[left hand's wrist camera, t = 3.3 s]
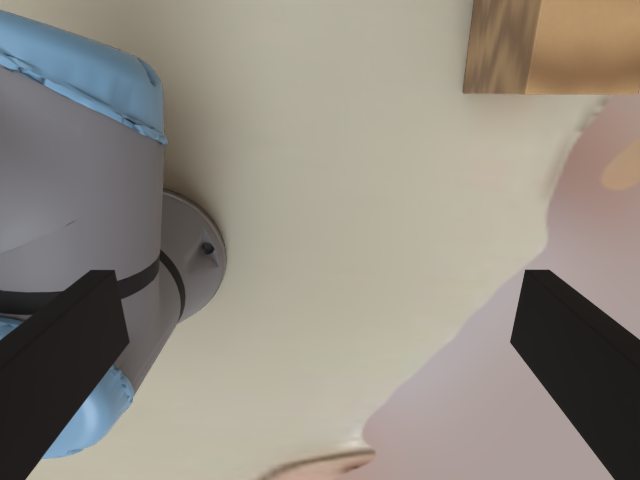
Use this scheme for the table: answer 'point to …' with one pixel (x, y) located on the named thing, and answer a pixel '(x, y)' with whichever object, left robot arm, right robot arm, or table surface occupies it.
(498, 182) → the table surface
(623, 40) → the box
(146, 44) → the table surface
